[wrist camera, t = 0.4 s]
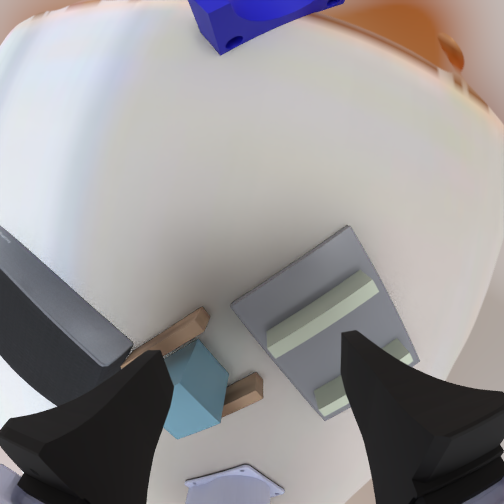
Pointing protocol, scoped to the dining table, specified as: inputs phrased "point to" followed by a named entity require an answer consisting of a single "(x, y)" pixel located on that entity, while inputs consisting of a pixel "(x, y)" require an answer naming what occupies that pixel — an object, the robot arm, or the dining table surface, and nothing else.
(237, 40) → the blue cradle holder
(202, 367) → the blue rectangular block
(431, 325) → the dining table surface
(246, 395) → the cradle
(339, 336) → the dock
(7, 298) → the external hard drive
